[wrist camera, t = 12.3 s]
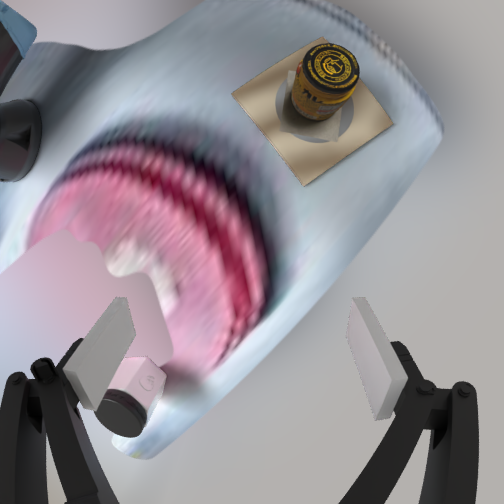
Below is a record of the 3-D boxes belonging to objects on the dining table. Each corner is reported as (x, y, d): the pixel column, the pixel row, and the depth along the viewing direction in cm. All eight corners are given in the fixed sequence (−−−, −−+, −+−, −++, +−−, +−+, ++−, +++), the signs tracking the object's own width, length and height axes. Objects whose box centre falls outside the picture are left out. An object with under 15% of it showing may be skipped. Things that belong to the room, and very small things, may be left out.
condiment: (344, 81, 32) (371, 45, 21) (337, 142, 34) (364, 126, 23) (288, 70, 33) (293, 28, 21) (279, 131, 35) (281, 109, 23)
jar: (177, 382, 46) (155, 430, 34) (150, 400, 48) (126, 444, 36) (138, 345, 45) (105, 388, 33) (114, 366, 46) (82, 407, 35)
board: (232, 96, 35) (231, 93, 34) (321, 40, 32) (322, 36, 31) (303, 186, 37) (304, 186, 36) (390, 125, 34) (393, 123, 33)
